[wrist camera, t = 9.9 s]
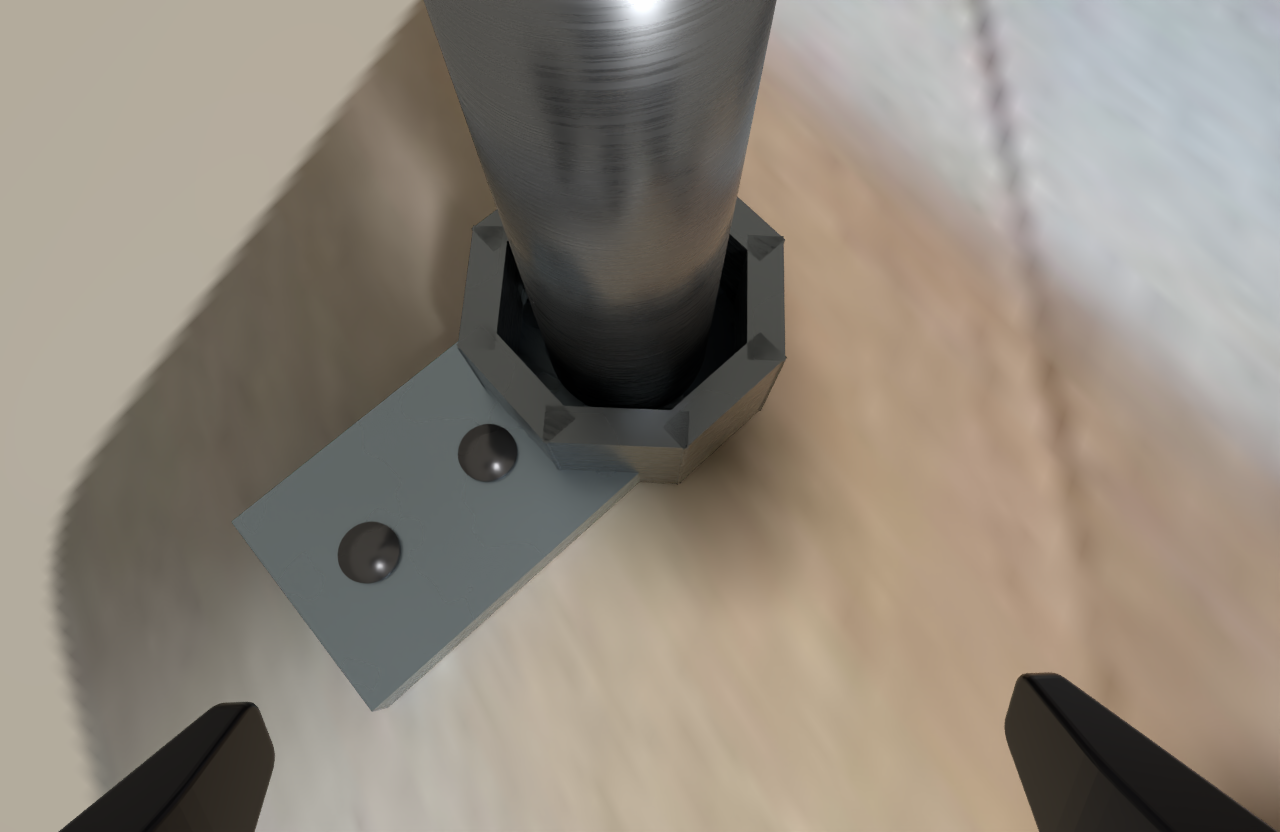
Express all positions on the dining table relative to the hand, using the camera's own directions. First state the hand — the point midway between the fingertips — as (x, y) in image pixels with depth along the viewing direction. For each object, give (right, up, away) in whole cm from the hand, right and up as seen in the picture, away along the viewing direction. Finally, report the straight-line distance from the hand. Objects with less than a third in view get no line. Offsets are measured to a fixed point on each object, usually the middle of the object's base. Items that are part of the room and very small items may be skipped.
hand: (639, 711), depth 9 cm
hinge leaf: (-3, +3, +10) cm, 11 cm away
